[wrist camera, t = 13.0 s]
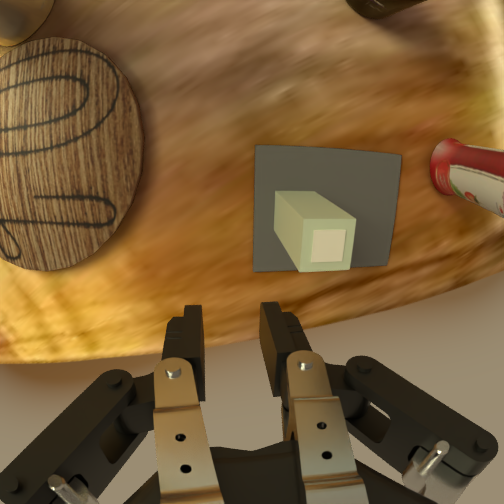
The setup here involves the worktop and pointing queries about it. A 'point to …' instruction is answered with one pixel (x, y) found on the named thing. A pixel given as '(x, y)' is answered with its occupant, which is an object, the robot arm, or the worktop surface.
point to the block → (314, 231)
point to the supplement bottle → (381, 7)
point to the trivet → (64, 152)
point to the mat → (327, 197)
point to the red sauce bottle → (470, 173)
